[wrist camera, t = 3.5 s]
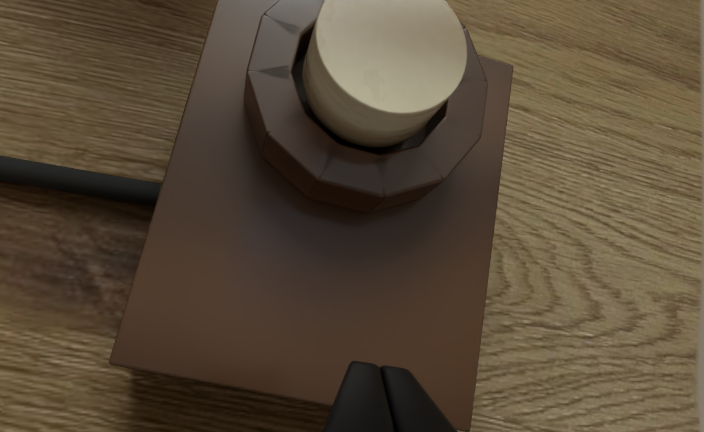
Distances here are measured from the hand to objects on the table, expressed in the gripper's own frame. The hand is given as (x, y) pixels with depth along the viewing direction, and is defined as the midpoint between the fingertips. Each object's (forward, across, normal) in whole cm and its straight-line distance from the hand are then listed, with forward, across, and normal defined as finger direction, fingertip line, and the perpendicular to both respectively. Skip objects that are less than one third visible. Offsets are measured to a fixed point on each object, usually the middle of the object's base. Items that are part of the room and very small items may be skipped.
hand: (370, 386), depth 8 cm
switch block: (+12, 0, +4) cm, 13 cm away
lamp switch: (+10, 0, -2) cm, 11 cm away
